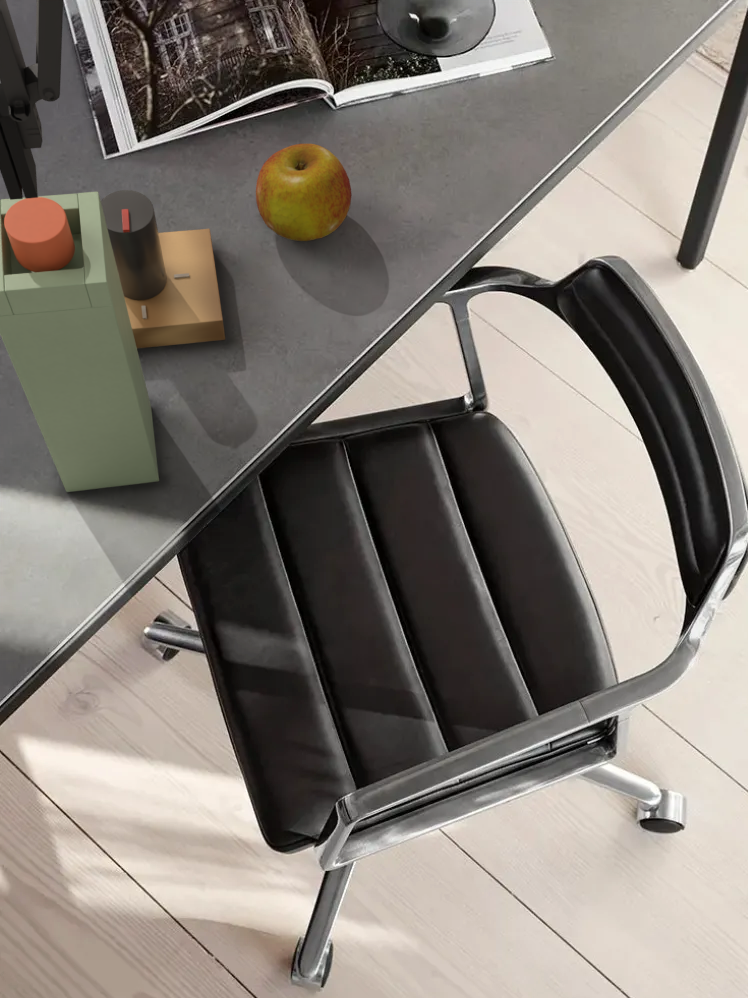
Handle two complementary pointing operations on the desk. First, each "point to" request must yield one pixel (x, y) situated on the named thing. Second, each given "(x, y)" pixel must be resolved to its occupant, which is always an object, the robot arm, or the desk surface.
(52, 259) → the button
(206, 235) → the dial panel
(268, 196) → the fruit
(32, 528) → the desk surface
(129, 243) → the dial knob
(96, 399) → the button stand
